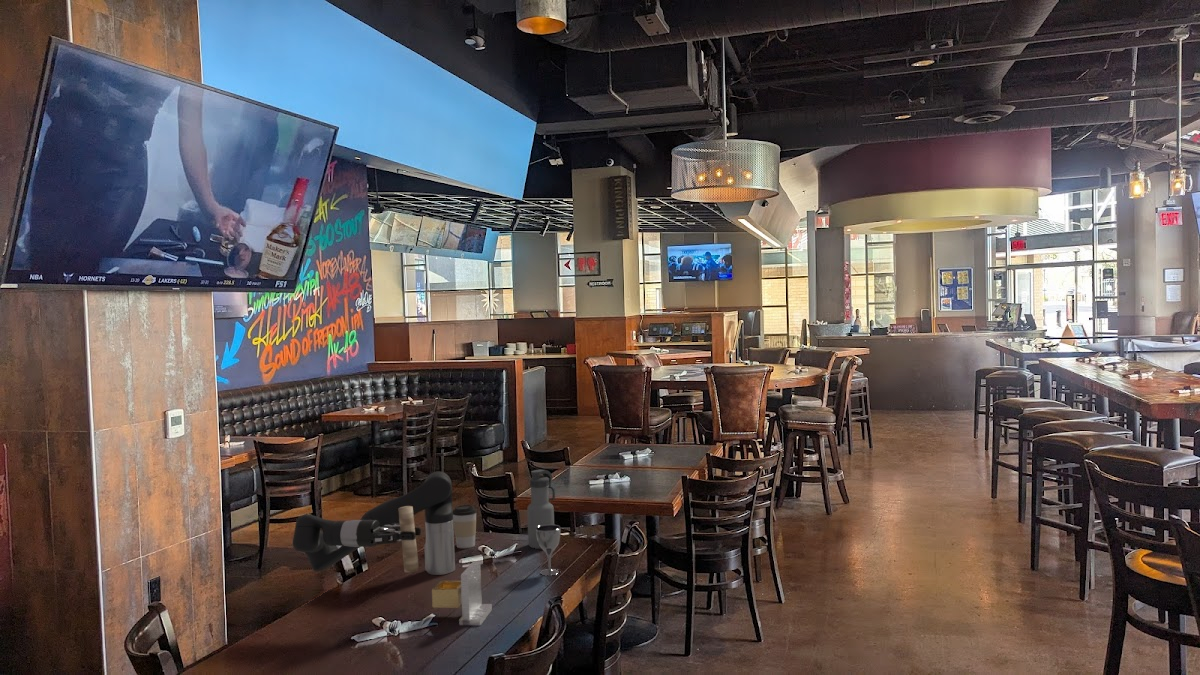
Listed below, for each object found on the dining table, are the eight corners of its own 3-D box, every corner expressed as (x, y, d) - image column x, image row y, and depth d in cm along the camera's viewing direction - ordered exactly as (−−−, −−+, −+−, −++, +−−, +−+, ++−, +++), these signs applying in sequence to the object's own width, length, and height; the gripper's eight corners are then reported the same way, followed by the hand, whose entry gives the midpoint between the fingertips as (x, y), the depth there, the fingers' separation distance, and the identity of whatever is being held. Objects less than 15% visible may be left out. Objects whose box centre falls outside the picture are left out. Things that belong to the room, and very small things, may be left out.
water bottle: (542, 540, 294) (539, 466, 293) (561, 544, 288) (558, 469, 287) (523, 546, 286) (520, 471, 285) (542, 551, 280) (539, 474, 279)
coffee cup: (448, 547, 288) (447, 507, 288) (463, 541, 296) (462, 502, 296) (468, 550, 284) (466, 509, 284) (482, 543, 292) (481, 504, 292)
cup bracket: (430, 624, 214) (428, 574, 214) (444, 608, 226) (442, 561, 226) (480, 625, 212) (478, 575, 212) (492, 609, 224) (490, 561, 224)
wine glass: (560, 576, 251) (559, 530, 251) (536, 576, 251) (534, 531, 251) (562, 568, 259) (561, 524, 259) (539, 569, 259) (537, 524, 259)
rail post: (401, 571, 221) (395, 508, 220) (412, 566, 224) (406, 505, 223) (410, 573, 218) (404, 510, 218) (421, 568, 221) (415, 506, 221)
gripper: (371, 539, 230) (427, 539, 227) (350, 553, 216) (409, 554, 213) (370, 514, 229) (426, 514, 227) (348, 527, 215) (407, 527, 213)
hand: (417, 533), depth 220 cm, fingers closed on rail post, 4 cm apart
